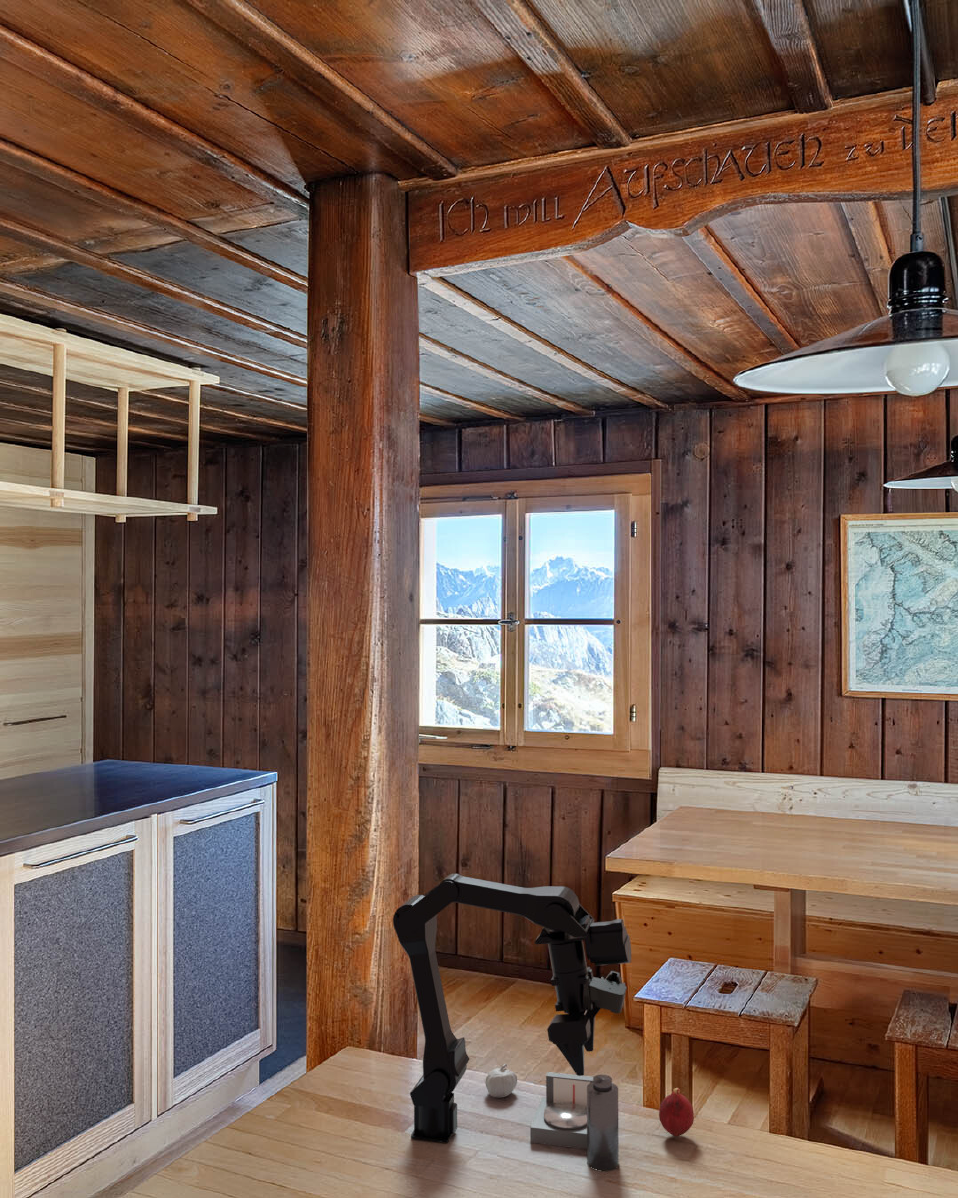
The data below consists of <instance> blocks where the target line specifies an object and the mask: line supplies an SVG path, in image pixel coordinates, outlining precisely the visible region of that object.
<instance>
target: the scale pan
mask: <svg viewBox="0 0 958 1198" xmlns="http://www.w3.org/2000/svg"><path fill="white" fill-rule="evenodd" d="M544 1120H545V1121H546V1123H548V1124H549V1125H551V1126H553V1127H556V1128H559V1129H568V1130H571V1129H579V1128H582V1127H585V1126H586V1125H587V1108H585V1107H584V1106H581V1105H579V1104H574V1103H557V1104H553V1105H551V1106H549V1107H547V1108H546V1109H545V1111H544Z"/></svg>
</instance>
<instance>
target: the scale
mask: <svg viewBox="0 0 958 1198" xmlns="http://www.w3.org/2000/svg"><path fill="white" fill-rule="evenodd" d="M593 1077H594V1076H589V1075H583V1076H577V1074H569V1073H560V1072H551V1071H548V1072H547V1073H546V1075H545V1086H546V1087H545V1094H546V1095H545V1096H541V1099H540V1101H539V1104H538V1106H537V1108H536V1109H537V1110H536V1112H535V1114H534V1117H533V1119H532V1122H531V1124H530V1131H529V1132H530V1134H529V1135H530V1138H529V1139H530V1141H529V1142H530V1143H534V1144H540V1145H541V1144H542V1145H549V1146H550V1145H551V1146H558V1147H566V1148H572V1149H580V1150H581V1149H583V1150H587V1125H586V1126H585V1127H582V1128H579V1129H571V1130H568V1129H559V1128H556V1127H553V1126H551V1125H549V1124H548V1123H546V1121H545V1120H544V1111H545V1109H546V1108H547V1107H549V1106H551V1105H553V1104H557V1103H574V1104H579V1105H581V1106H584V1107H585V1108H587V1085H588V1084H590V1083H591V1082H593Z"/></svg>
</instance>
